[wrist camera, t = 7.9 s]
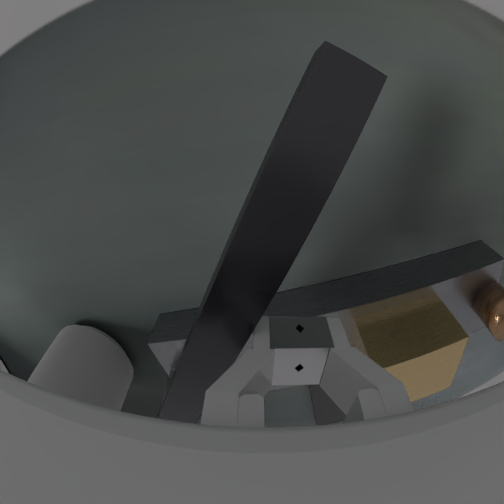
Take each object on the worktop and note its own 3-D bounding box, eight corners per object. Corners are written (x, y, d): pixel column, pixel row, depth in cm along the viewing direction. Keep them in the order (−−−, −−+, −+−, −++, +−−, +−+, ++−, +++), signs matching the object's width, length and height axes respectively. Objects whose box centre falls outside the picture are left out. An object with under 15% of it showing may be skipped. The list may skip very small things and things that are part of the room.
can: (97, 307, 19) (21, 437, 8) (153, 372, 22) (116, 497, 11) (50, 328, 20) (-12, 426, 10) (100, 382, 23) (60, 480, 13)
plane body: (191, 369, 21) (175, 447, 15) (159, 314, 19) (126, 398, 12) (473, 302, 18) (517, 359, 12) (484, 239, 16) (545, 291, 9)
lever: (183, 441, 14) (180, 457, 13) (145, 429, 14) (140, 445, 13) (380, 89, 6) (401, 85, 5) (300, 45, 6) (308, 32, 5)
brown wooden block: (354, 367, 17) (368, 415, 13) (353, 317, 15) (373, 371, 11) (427, 344, 16) (449, 386, 13) (436, 293, 14) (468, 336, 11)
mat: (316, 421, 25) (317, 426, 25) (307, 373, 21) (307, 378, 21) (406, 397, 24) (408, 401, 23) (419, 342, 20) (422, 347, 20)
